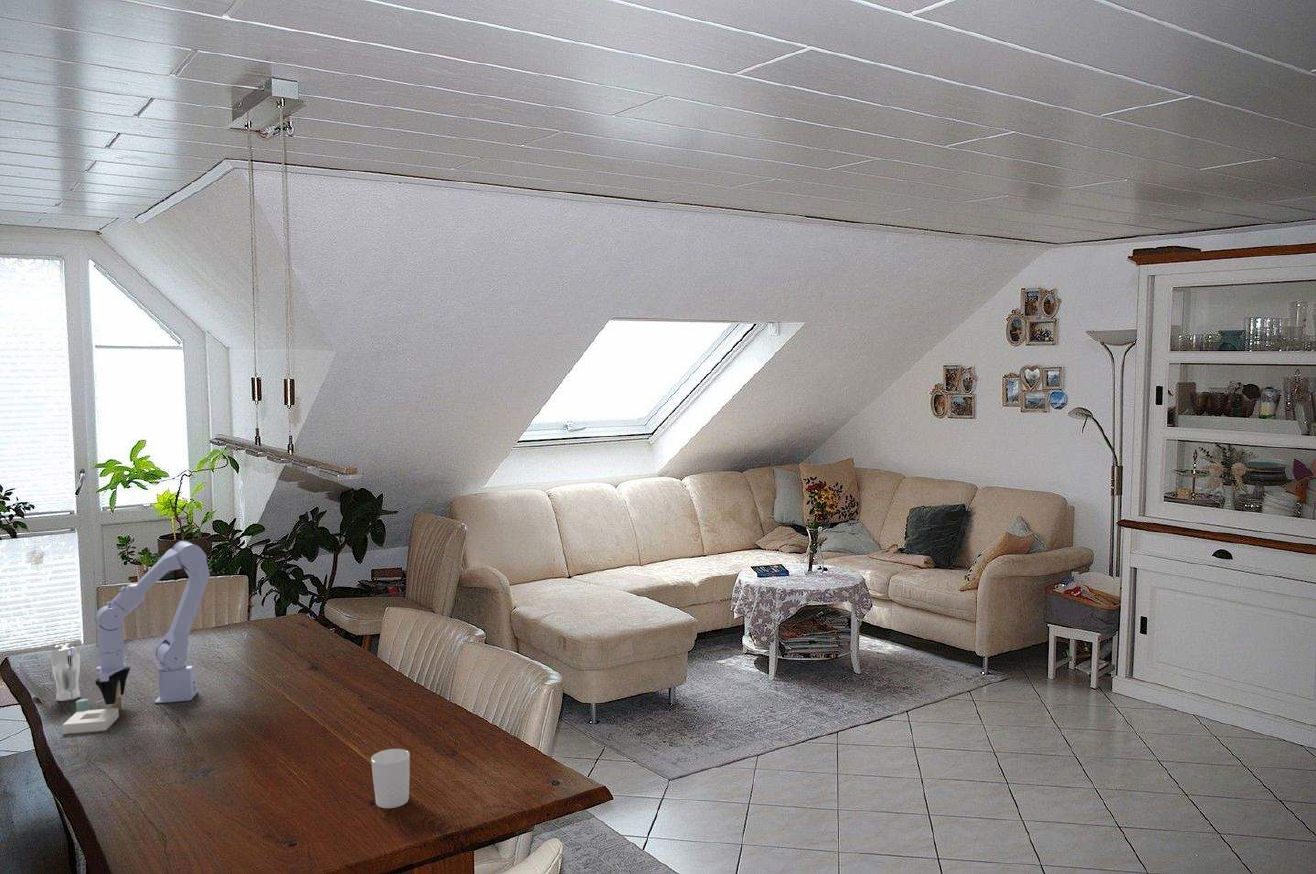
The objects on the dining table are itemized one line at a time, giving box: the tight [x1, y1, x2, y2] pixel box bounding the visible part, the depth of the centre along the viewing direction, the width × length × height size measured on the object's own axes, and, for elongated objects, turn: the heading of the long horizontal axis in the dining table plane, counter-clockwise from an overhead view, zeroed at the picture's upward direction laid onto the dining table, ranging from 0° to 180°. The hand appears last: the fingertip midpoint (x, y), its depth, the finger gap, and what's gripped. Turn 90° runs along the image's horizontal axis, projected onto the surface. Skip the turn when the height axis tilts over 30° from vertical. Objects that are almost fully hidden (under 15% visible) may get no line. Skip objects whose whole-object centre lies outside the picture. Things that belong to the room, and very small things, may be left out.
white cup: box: [370, 748, 411, 809], centre depth 211 cm, size 8×8×10 cm
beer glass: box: [50, 642, 82, 702], centre depth 282 cm, size 7×7×15 cm
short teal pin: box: [75, 698, 91, 712], centre depth 267 cm, size 3×3×4 cm
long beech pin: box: [108, 681, 123, 713], centre depth 271 cm, size 3×3×8 cm
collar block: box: [62, 708, 120, 735], centre depth 260 cm, size 10×10×2 cm
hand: (114, 699), depth 271 cm, fingers open, 6 cm apart
